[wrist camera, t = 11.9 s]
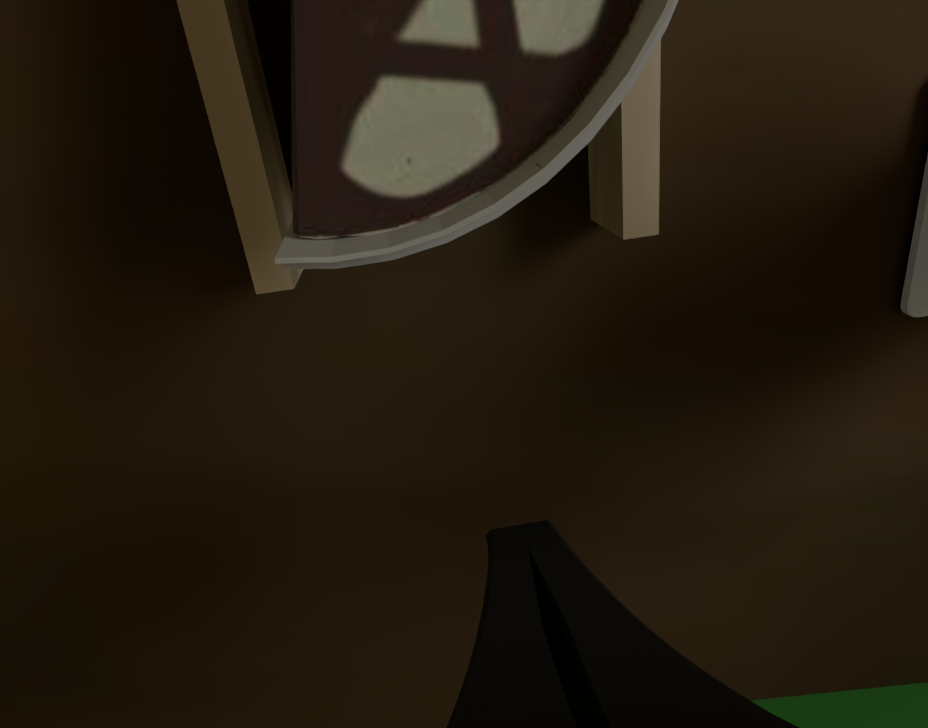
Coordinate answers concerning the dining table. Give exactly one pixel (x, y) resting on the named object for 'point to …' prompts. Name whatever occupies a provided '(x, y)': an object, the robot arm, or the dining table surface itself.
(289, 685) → the dining table surface
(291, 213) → the open u-shaped wooden frame
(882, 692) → the hardback book
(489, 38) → the food container
